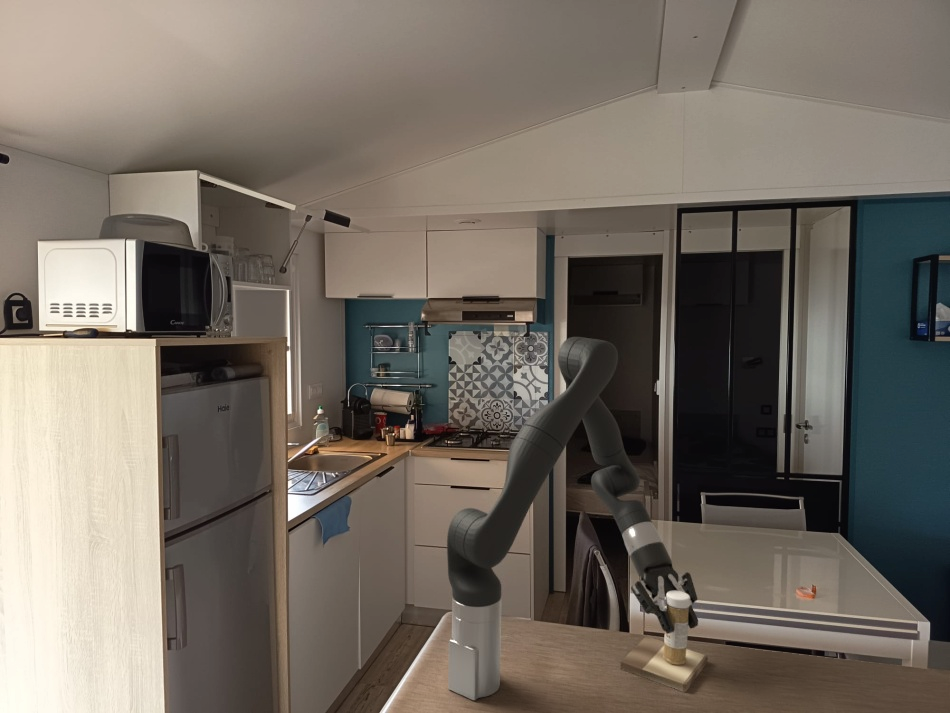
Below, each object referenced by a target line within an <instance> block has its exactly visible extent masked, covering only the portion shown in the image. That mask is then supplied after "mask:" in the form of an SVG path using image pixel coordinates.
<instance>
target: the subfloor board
mask: <svg viewBox="0 0 950 713" xmlns="http://www.w3.org/2000/svg"><path fill="white" fill-rule="evenodd" d="M663 653H664V641H663V640H660V639H658V638H657V639H656V638H654V637H651V636H647V635H646V636H645V637H644V638H643V639H641V641H639V643H638V644H637V645H636V646H635V647H634V648H633V649H631V651H629V653H628V654H627V655H625V657H624V658H623V659H622V660H621V661H620V670H622V669H624V670H623V671H625V670H626V671H625V672H627V671H628V672H627V673H631V674H633V673H634V674H633V675H635V676H638V675H639V676H638V677H641V676H642V677H641V678H644V679H647V678H648V679H647V680H649V679H650V681H652V682H655V683H658V684H660V685H664V686H667V687H669V688H671V687H672V689H674V688H675V689H674V690H678V691H680V692H682V693H686V692H687V691H689V689H690V687H691V685H692V684H693V683H694V681H695V680H696V679H697V678H698V676H699V674H700V673H701V672H702V671H703V670H704V668H706V666H707V664H708V655H707V654H703V653H700V652H697V651H694V650H692V649H689V648H686V662H685V663H684V664H679V665H677V664H671V663H668V662H667V661H665V660H664V658H663Z"/></svg>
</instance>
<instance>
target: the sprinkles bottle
mask: <svg viewBox="0 0 950 713" xmlns="http://www.w3.org/2000/svg"><path fill="white" fill-rule="evenodd" d="M665 604H666V609H665V611H667V613H668V615H669V617H670V620H671V622H672V624H673V626H674V631H673V632H672V633H669V634H667V633H666V632H665V631H664V638H663V640H664V641H663V642H664V653H663V658H664V660H665V661H667V662H668V663H671V664H677V665H679V664H684V663H685V662H686V649H687V646H688V630H689V626H688V612H689V606H690V596H689V595H688V594H687V593H685V592H682V591H676V590H672V591H668V592H667V594H666V597H665Z"/></svg>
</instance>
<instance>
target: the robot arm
mask: <svg viewBox="0 0 950 713" xmlns="http://www.w3.org/2000/svg"><path fill="white" fill-rule="evenodd" d="M618 361H619V354H618V349H617V348H616V346H615V345H614V344H613V343H612V342H609V341H607V340H602V339H597V338H587V337H585V336H583V337H582V336H572V337H568V338H567V339H566V340H564V341H563V342H562V344H561V345H560V347H559V351H558V354H557V364H558V367H559V370H560V373H561V375H562V378H563V380H564V383H565V384H566V387H567V388H566V389H565V390H564V391H563V392H562V393H561V394H560V395H558V396H557V397H556V398H554V399H553V400H551V401H549V402H548V403H546V404H545V405H543V406H542V407H540V408H538V409H537V410H536V411H535V412H534V413H533V414H532V415H530V416H529V417H528V418H527V419H526V421H525V422H524V423H523V425H522V426H521V428H520V429H519V431H518V433H517V434H516V436H515V437H514V439H513V440H512V443H511V445H510V447H509V449H508V455H507V460H506V461H507V462H506V472H505V480H504V485H503V487H502V488H503V489H502V490H501V493H500V495H499V497H497V500H496V501H495V504H493V506H492V508H491V509H490V511H489V512H488V513H487V512H485V511H483V510H480V509H477V508H472V507H468V508H464V509H461V510H459V511H458V512H457V513H456V514H455V515H454V516H453V518H452V520H451V521H450V524H449V526H448V530H447V537H446V549H447V550H446V555H447V558H446V559H447V576H448V581H449V584H450V586H451V590H452V592H451V594H452V597H451V598H452V600H451V602H452V603H451V604H452V608H451V610H452V612H451V638H450V639H449V641H448V678H447V679H448V681H447V682H448V690H450V691H451V692H454V693H456V694H458V695H461V696H462V697H465V698H467V699H469V700H472V701H476V700H477V699H479V698H481V699H482V698H485V697H490V696H491V695H494V694H495V693H496V692H497V691H498V690H499V688H500V687H501V648H502V647H501V644H502V643H501V636H502V634H501V633H502V632H501V631H502V629H501V628H502V583H501V581H500V578H499V577H498V576H497V574H496V573H495V572H494V569H493V568H494V567H496V566H497V565H499V564H500V563H501V562H502V561H503V560H504V559H505V558H506V556H507V555H508V553H509V551H510V550H511V548H512V546H513V544H514V542H515V540H516V537H517V536H518V534H519V531H520V529H521V527H522V524H523V523H524V521H525V518H526V516H527V513H528V512H529V510H530V508H531V506H532V504H533V502H534V500H535V498H536V497H537V495H538V494H539V493H540V491H541V488H542V486H543V484H544V483H545V481H546V479H548V478H547V477H548V476H549V474H550V473H551V471H552V469H553V468H555V465H556V463H557V461H558V460H559V458H560V456H561V455H562V454H563V451H564V450H565V448H566V446H567V444H568V442H569V441H570V439H571V437H572V436H573V435H574V432H575V431H576V429H577V428H578V427H579V424H580V423H581V421H582V423H583V426H584V428H585V433H586V435H587V439H588V442H589V443H588V444H589V446H590V451H591V454H592V457H593V460H594V462H595V463H596V464H598V465H599V466H604V467H605V468H600V469H598V470H597V471H595V472H594V473H593V474H592V476H591V479H590V482H591V488H592V490H593V492H594V494H595V495H596V496H597V497H598V498H599V500H600V501H601V502H602V503H603V504H604V505H605V507H606V509H608V511H609V512H610V514H611V515H612V516H613V518H614V520H615V523H616V525H617V527H618V529H619V531H620V533H621V536H622V539H623V542H624V543H623V544H624V546H625V548H626V551H627V553H628V555H629V558H630V559H631V562H632V564H633V567H634V569H635V571H636V573H637V575H638V577H640V581H639V580H637V581H636V582H635V583H634V584H633V585H632V586H631V587H630V590H631V592H632V594H633V595H634V596H635V598H636V599H637V601H638V603H639V604H640V605H641V608H642V609H643V610H644V612H645V613H646V614H647V615H649V614H653V615H655V616H656V617H657V621H658V622H659V624H660V627H661V629H662V630H663V631H664V633H665V632H666V633H667V634H669V633H672V632H673V631H674V626H673V624H672V622H671V620H670V617H669V615H668V613H667V611H666V608H665V606H666V605H665V600H666V594H667V592H668V591H672V590H676V591H682V592H685V593H687V594H688V595H689V596H690V606H689V612H688V628H690V629H695V628H696V627H698V626H699V619H698V616H697V615H696V613H695V610H694V608H693V604H694V603H696V602H697V601H698V595H697V591H696V588H695V585H694V582H693V579H692V576H691V574H690V572H684V573H683V574H682V573H678V572H677V571H676V570H675V569H674V566H673V561H672V558H671V556H670V554H669V553H668V550H667V548H666V545H665V544H664V542H663V540H662V537H661V535H660V533H659V532H658V530H657V528H656V527H655V525H654V523H653V521H652V519H651V517H650V515H649V513H648V511H647V508H646V506H645V504H644V503H643V502H642V501H641V500H639V499H630V500H628V499H627V500H621V499H619V498H620V497H623V496H626V495H629V494H632V493H634V492H636V491H637V490H638V489H639V486H640V483H641V482H640V481H641V480H640V475H639V473H638V471H637V470H636V468H635V466H634V465H633V463H632V462H631V460H630V458H629V457H628V455H627V453H626V450H625V448H624V443H623V440H622V435H621V434H622V433H621V431H620V427H619V425H618V422H617V421H616V418H615V417H614V416H613V414H612V412H611V411H610V409H608V407H607V406H606V404H605V403H604V401H603V400H602V398H601V397H600V394H601V393H602V392H603V391H604V389H605V388H606V386H607V385H608V384H609V382H610V381H611V379H612V377H613V376H614V374H615V372H616V369H617V366H618ZM648 592H649V593H650V594H649V593H648Z"/></svg>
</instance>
